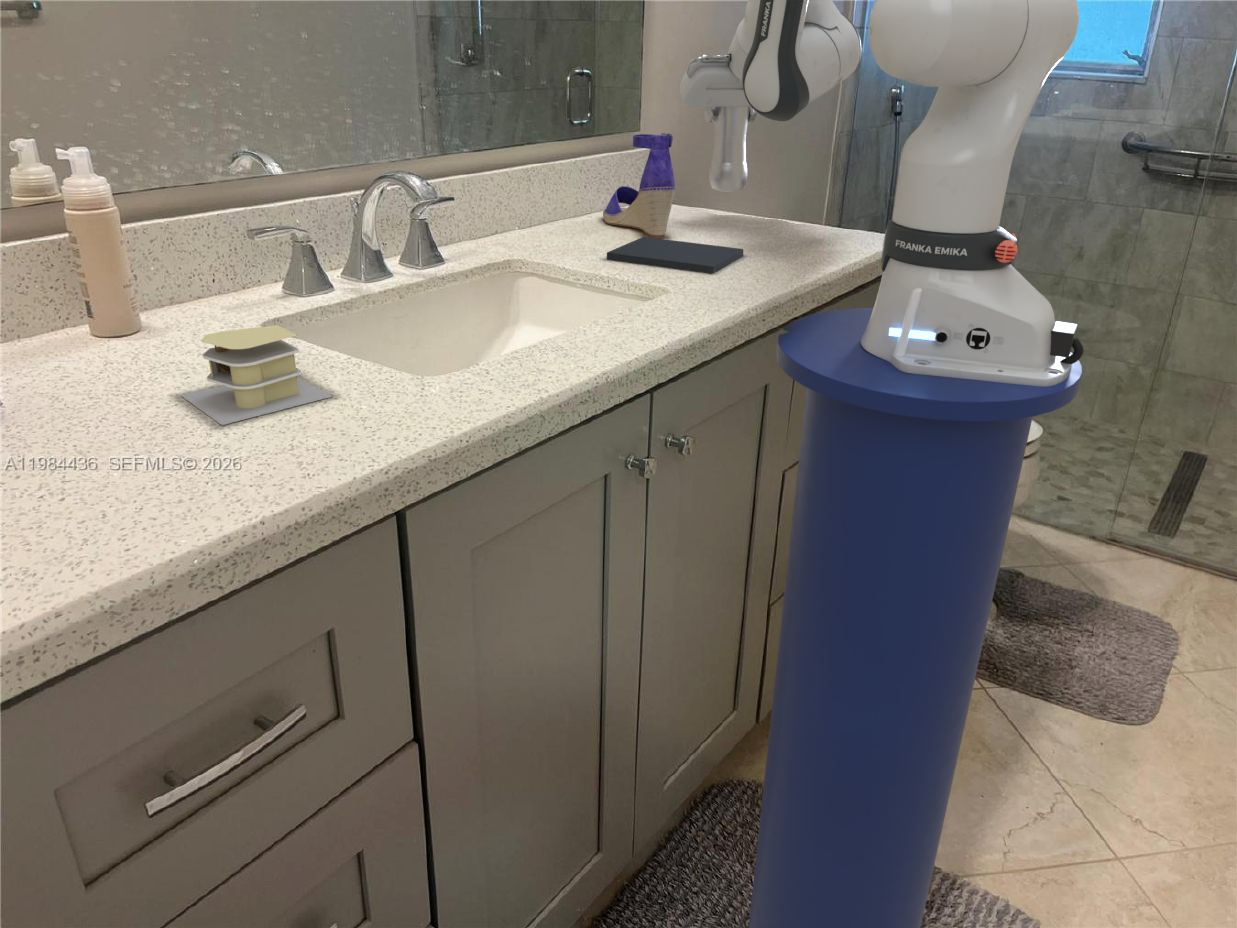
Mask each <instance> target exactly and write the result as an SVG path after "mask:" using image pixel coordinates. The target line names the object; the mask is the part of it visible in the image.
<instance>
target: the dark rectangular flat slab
mask: <svg viewBox="0 0 1237 928" xmlns="http://www.w3.org/2000/svg"><path fill="white" fill-rule="evenodd" d="M744 251H745V250H744V248H738V247H732V246H731V247H730V246H722V245H713V244H705V243H699V242H698V243H697V242H691V241H690V242H689V241H681V240H672V239H666V238H663V239H657V238H649V237H647V236H642V237H639V238H637V239H635V240H632V241H630V242H628V243H625V244H623V245H621V246H619V247H615V248H614V249H612V250H609V251H607V252H606V260H607V261H608V260H609V261H615V262H623V263H629V264H630V263H631V264H638V265H646V266H652V267H653V266H654V267H660V268H661V267H662V268H667V269H676V270H683V271H691V272H697V273H698V272H699V273H705V274H715V273H716V272H717V271H720V270H721V269H723V268H724V267H726V266H728V265H729V264H732V263H733V262H735V261H737V260H738V259H741V258H742V257H743V256H744Z"/></svg>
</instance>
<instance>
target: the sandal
mask: <svg viewBox="0 0 1237 928" xmlns="http://www.w3.org/2000/svg"><path fill="white" fill-rule="evenodd" d="M673 139H674V137H673V135H672V134H671V133H665V132H662V133H660V134H651V133H650V134H649V133H648V134H646V133H645V134H644V133H639V134H633V135H632V147H633V148H637V149H647V150H648V149H649V153H648V157H647V160H646V162H645V166H644V169H643V172H642V175H641V177H640V183H639V190H637V189H635V188H632V187H630V186H626V185H621V186H618V187H617V188H616V190H615V191H614V193H613V194H612V196H611V198H610V200H609V202H608V204H607V205H606V206H605V208H604V210H603V211H602V218H603V222H604V223H606V224H607V225H612V226H619V227H628V228H633V229H636V230H640V231H641V232H644V235H645V237H649V238H657V239H666V235H667V230H668V224H669V219H670V213H671V211H672V205H673V201H674V197H675V193H676V182H675V174H674V169H673V163H672V158H671V153H670V148H672V144H673ZM620 204H625V205H628V207H621V206H620Z"/></svg>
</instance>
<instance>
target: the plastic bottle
mask: <svg viewBox="0 0 1237 928" xmlns="http://www.w3.org/2000/svg"><path fill="white" fill-rule="evenodd" d="M750 107H751V106H734V107H715V112H716V113H717V115H718V117H717V119H716V121H715V122H713V132H714V134H713V146H712V153H711V162H710V166H709V171H708V182H709V183H708V184H709V186H710V187H711V189H712V190H715V191H719V192H721V193H722V192H723V193H733V192H738V191H741V190H743V189H745V187H746V185H747V181H748V163H747V132H748V123H749V122H748V118H749V112H750Z"/></svg>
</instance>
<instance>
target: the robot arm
mask: <svg viewBox="0 0 1237 928" xmlns="http://www.w3.org/2000/svg"><path fill="white" fill-rule="evenodd" d="M1079 10H1080V9H1079V4H1078V1H1077V0H874V3H873V5H872V7H871V11H870V14H869V18H868V28H867V29H868V31H867V32H868V33H867V37H868V43H869V44H868V45H869V49H870V52H871V54H872V57H873V59H874V61H875V62H876V65H877V66H878V67H879V68H880V69H881V70H882V71H883V72H884V73H885V74H887V75H888V76H890V77H892V78H895V79H898V80H900V81H904V82H905V83H910V84H913V85H916V86H921V87H925V88H937V90H936V93H935V96H934V98H933V99H932V103H931V105H930V106H929V109H928V111H927V113H926V115H925V116H924V118H923V120H922V121H921V123H920V124H919V125H918V127H917V128H916V129H915V130H914V131H913V132H912V133H911V134H910V135H909V137H908V138H907V139H906V141H905V142H904V144H903V147H902V149H901V151H900V159H899V165H898V172H897V173H898V174H897V179H896V180H897V181H896V187H895V195H894V202H893V208H892V218H891V219H889V220H888V221H887V225H886V229H885V231H884V237H883V242H882V250H881V259H880V262H881V271H882V274H881V279H880V280H881V281H880V285H879V288H878V292H877V294H876V299H875V302H874V305H873V307H872V308H873V311H872V314H871V317H870V320H869V322H868V325H867V327H866V330H865V332H864V334H863V336H862V338H861V341H860V343H861V345H862V347H863V348H864V349H865V350H866V351H868V352H869V353H871V354H873V355H875V356H877V357H879V358H882V359H884V360H886V361H888V362H890V363H891V364H892V365H893V366H894V367H896V368H897V369H898V370H900V371H902V372H906V373H913V374H922V375H932V376H942V377H951V378H961V379H971V380H981V381H990V382H1000V383H1010V384H1019V385H1029V386H1039V387H1049V386H1053V385H1057V384H1059V383H1061V382H1063V381H1065V380H1066V379H1067V378H1068V376H1069V375H1070V372H1071V367H1072V364H1073V363H1075V362H1077V361H1078V360H1079V361H1080V359H1081V358H1082V357H1083V354H1084V346H1083V344H1082V342H1081V341H1080V339H1079V338H1078V337H1076V334H1077V330H1078V325H1079V324H1078V323H1072V322H1065V321H1059V320H1056V317H1055V313H1054V309H1053V306H1052V305H1051V302H1050V301H1049V300H1048V299H1047V298H1046V297H1045V296H1044V295H1043V294H1042V293H1041V292H1039V291H1038V289H1037V288H1036V287H1034V285H1032V283H1031V282H1029V281H1028V280H1027V279H1026V278H1025V277H1024V276H1023V275H1022V274H1021V273H1020V272H1019V271H1018V270H1017V269H1016V268H1015V267H1013V265H1012V264H1013V262H1014V259H1015V258H1016V256H1017V254H1018V251H1019V248H1018V239H1017V236H1016V233H1014V232H1012V234H1011V233H1010V232H1008V231H1007V230H1006V229H1004V228H1003V227H1002V226H1001V224H1000V223H1001V218H1002V213H1003V209H1004V202H1005V198H1006V192H1007V188H1008V183H1009V178H1010V173H1011V169H1012V163H1013V159H1014V156H1015V152H1016V150H1017V146H1018V144H1019V141H1020V137H1021V135H1022V132H1023V130H1024V128H1025V126H1026V123H1027V121H1028V118H1029V116H1030V114H1031V111H1032V109H1033V107H1034V105H1035V103H1036V100H1037V99H1038V96H1039V94H1040V92H1041V90H1042V88H1043V86H1044V84H1045V82H1046V80H1047V78H1048V76H1049V75H1050V73H1051V72H1052V71H1053V70H1054V68H1055V67H1056V66H1058V64H1059V63H1060V62H1061V61H1062V60H1063V58H1064V57H1065V56H1066V55H1067V53H1068V52H1069V50H1070V49H1071V47H1072V45H1073V43H1074V41H1075V39H1076V36H1077V34H1078V30H1079V29H1078V28H1079V25H1080V24H1079V23H1080V11H1079ZM744 13H745V15H744V17H743V18H742V20H741V21H740V23H739V24H738V26H737V28H736V30H735V34H734V35H733V38H732V41H731V43H730V46H729V48H728V51H727V53H717V54H710V53H703V54H701V55H700V56H698V57H696V58H694V59H691V60H690V61H689V63H688V66H687V68H686V71H685V73H684V74H683V76H682V79H681V81H680V83H679V86H678V91H679V95H680V100H681V102H682V104H683V105H684V106H685V108H705V111H704V115H703V116H704V120H705V122H706V123H714V122H715V121H716V119H717V117H718V115H717V113H716V112H715V107H734V106H751V107H750V112H749V118H748V123H749V122H752V123H753V122H757V121H758V119H759V117H760V116H763V117H764V118H766V119H768V120H771V121H776V122H788V121H790V120H792V119H793V118H794V117H796V116H797V115H798V114H799V113H800V112H802V111H803V110H804V109H805V108H806V107H807V106H808V105H810V104H811V103H813V102H814V101H816V100H817V99H819V98H820V97H822V96H823V95H825V94H826V93H828V92H829V91H831V90H832V89H833V88H835V87H836V86H838V85H839V84H841V83H842V82H843V81H845V80H846V79H847V78H849V77H851V76H852V75H854V73H856V71H857V69H858V67H859V65H860V62H861V57H862V41H861V36H860V34H859V31H858V29H857V27H856V26H855V24H854V23H853V22H852V21H851V20H850V19H849V18H848V17H847V16H846V15H845V14H843V13H842V12H841V11H839V9H838V7H837V6H836V4H835V3H834V1H833V0H748V1H747V4H746V7H745V12H744ZM1072 350H1073V352H1072ZM1070 353H1073V354H1072V355H1071V354H1070Z"/></svg>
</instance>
